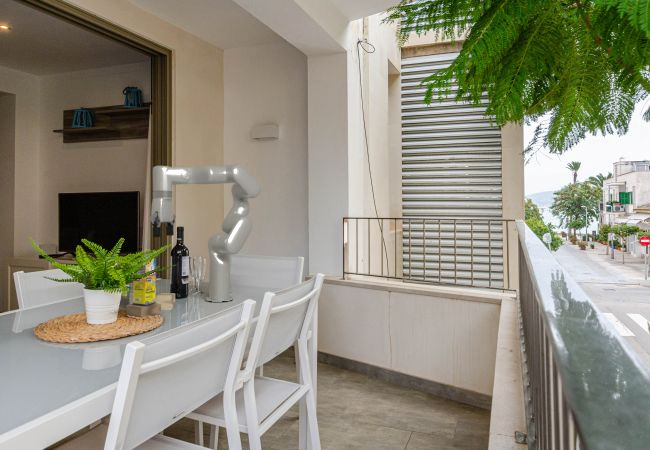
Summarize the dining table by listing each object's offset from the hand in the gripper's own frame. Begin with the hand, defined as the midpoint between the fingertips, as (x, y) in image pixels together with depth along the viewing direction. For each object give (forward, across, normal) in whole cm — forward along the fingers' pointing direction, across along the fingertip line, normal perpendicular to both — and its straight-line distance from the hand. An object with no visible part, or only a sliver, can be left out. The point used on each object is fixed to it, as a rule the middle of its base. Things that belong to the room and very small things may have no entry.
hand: (163, 236), depth 185 cm
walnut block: (+31, +16, 0) cm, 34 cm away
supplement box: (+26, +15, 0) cm, 30 cm away
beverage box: (+31, -1, -11) cm, 33 cm away
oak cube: (+31, -1, 0) cm, 31 cm away
